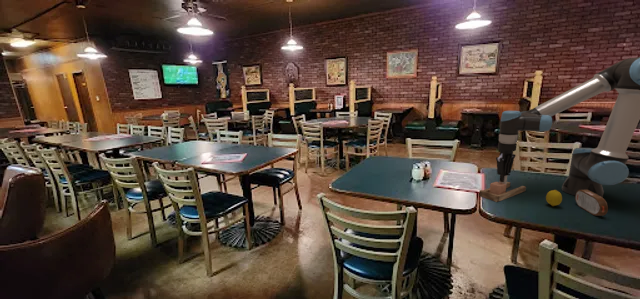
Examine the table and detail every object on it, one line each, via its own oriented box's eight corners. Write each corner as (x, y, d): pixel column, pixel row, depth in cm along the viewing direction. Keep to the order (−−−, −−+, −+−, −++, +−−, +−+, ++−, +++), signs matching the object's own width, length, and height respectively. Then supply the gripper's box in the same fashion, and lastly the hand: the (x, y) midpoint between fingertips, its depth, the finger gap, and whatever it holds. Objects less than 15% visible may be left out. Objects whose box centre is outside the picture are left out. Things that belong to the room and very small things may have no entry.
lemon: (557, 209, 119) (559, 193, 117) (542, 205, 124) (544, 189, 122) (563, 206, 122) (565, 190, 120) (548, 202, 127) (551, 186, 125)
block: (505, 195, 136) (506, 184, 134) (499, 197, 133) (500, 186, 132) (495, 192, 140) (496, 181, 139) (489, 194, 138) (490, 183, 136)
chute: (525, 191, 140) (526, 185, 140) (497, 202, 129) (497, 196, 129) (507, 186, 148) (507, 180, 147) (478, 195, 137) (479, 190, 137)
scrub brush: (606, 219, 110) (610, 200, 108) (597, 219, 110) (601, 200, 109) (580, 203, 124) (583, 186, 122) (572, 203, 125) (575, 186, 123)
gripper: (507, 139, 138) (502, 182, 144) (491, 142, 132) (487, 187, 138) (523, 141, 132) (517, 186, 137) (508, 145, 126) (502, 192, 131)
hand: (502, 187), depth 137 cm, fingers closed
